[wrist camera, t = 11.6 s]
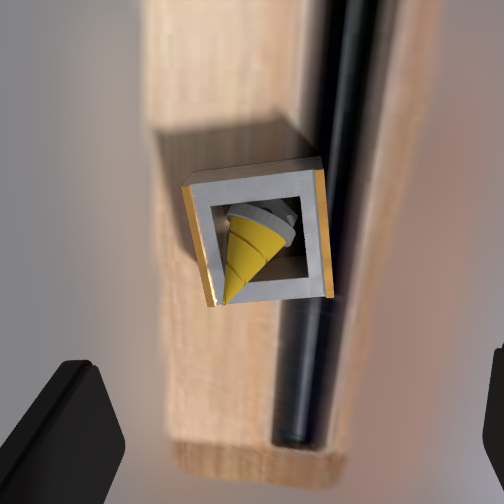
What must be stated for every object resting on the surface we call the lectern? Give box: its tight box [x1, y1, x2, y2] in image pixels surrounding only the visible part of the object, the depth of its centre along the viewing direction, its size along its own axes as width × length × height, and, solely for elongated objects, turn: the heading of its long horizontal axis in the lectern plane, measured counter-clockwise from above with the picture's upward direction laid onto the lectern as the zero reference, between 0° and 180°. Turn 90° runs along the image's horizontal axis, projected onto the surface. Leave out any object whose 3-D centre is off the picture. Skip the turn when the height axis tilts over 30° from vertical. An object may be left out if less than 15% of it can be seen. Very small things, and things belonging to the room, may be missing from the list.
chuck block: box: [181, 156, 334, 307], centre depth 33 cm, size 10×10×4 cm
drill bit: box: [222, 198, 298, 306], centre depth 32 cm, size 5×5×10 cm
